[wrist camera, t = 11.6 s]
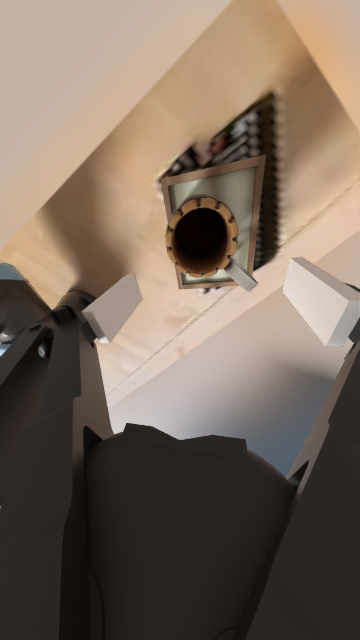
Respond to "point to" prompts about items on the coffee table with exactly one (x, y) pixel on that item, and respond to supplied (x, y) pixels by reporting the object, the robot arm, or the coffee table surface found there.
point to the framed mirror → (234, 190)
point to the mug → (205, 240)
